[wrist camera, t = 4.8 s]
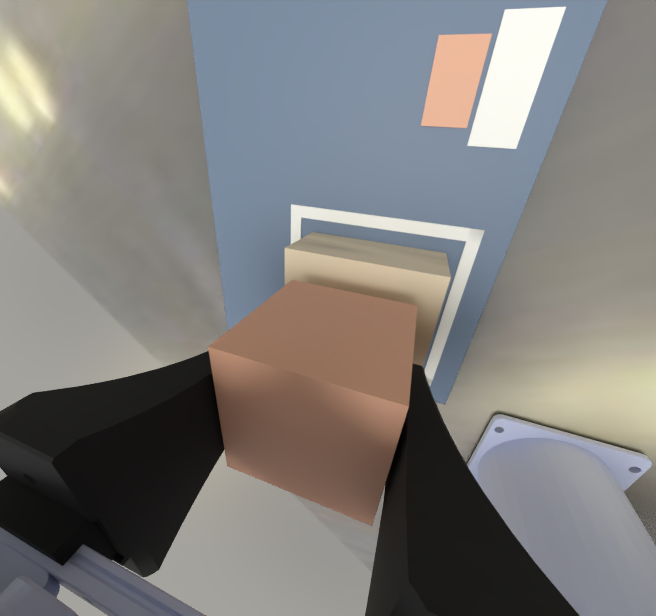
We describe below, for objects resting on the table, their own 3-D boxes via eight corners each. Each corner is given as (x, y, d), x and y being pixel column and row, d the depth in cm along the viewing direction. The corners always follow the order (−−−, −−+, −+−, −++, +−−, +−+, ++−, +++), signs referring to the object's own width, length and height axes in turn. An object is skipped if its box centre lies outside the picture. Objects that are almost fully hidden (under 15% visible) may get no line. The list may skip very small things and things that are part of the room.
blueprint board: (444, 395, 18) (445, 405, 17) (235, 337, 22) (228, 343, 21) (627, -73, 8) (647, -97, 8) (195, -29, 12) (180, -42, 11)
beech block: (413, 363, 17) (410, 405, 14) (308, 336, 18) (284, 368, 15) (446, 252, 13) (450, 277, 10) (312, 231, 15) (284, 247, 12)
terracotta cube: (391, 403, 12) (371, 525, 8) (290, 373, 14) (227, 466, 9) (417, 305, 10) (408, 406, 6) (292, 279, 11) (208, 347, 7)
